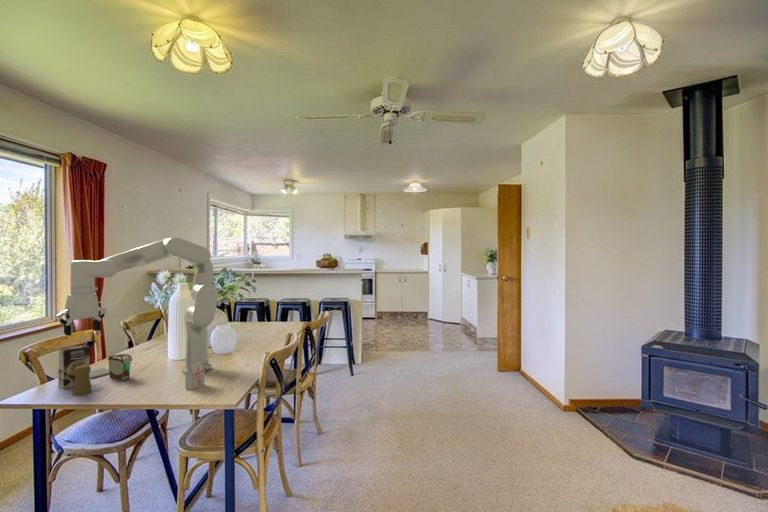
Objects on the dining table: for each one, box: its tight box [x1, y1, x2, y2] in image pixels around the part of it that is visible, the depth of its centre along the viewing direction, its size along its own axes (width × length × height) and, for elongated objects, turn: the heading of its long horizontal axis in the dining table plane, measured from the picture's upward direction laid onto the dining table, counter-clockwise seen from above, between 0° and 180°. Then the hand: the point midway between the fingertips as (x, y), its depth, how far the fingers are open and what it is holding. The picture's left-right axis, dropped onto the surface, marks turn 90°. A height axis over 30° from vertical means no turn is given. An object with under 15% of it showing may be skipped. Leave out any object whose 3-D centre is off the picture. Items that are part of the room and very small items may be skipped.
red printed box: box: [184, 361, 206, 391], centre depth 155 cm, size 4×7×10 cm, turn 166°
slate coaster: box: [89, 367, 109, 380], centre depth 170 cm, size 10×10×1 cm
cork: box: [72, 365, 92, 397], centre depth 147 cm, size 6×6×11 cm
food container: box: [107, 353, 133, 382], centre depth 165 cm, size 12×6×10 cm, turn 65°
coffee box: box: [57, 344, 91, 390], centre depth 157 cm, size 9×6×16 cm
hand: (82, 332), depth 147 cm, fingers open, 9 cm apart
